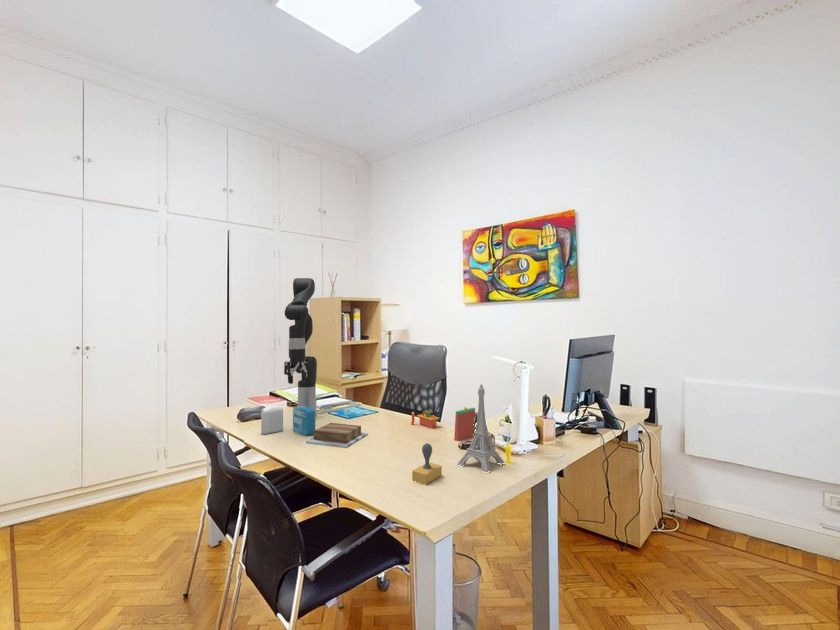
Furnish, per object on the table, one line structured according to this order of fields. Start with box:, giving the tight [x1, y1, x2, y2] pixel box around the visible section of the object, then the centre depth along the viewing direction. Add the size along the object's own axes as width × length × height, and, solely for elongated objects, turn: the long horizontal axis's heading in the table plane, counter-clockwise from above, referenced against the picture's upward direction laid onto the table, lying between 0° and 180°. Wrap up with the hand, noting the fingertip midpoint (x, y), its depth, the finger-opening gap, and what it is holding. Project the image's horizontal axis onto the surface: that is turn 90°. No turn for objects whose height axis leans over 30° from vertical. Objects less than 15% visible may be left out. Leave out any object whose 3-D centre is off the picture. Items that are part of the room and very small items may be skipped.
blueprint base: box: [305, 422, 369, 449], centre depth 187 cm, size 20×20×5 cm
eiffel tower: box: [456, 384, 505, 472], centre depth 156 cm, size 13×13×30 cm
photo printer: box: [260, 405, 284, 435], centre depth 198 cm, size 10×4×12 cm, turn 134°
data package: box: [292, 405, 316, 436], centre depth 197 cm, size 12×4×12 cm, turn 49°
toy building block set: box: [410, 406, 476, 442], centre depth 201 cm, size 12×35×14 cm, turn 40°
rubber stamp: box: [411, 442, 443, 485], centre depth 143 cm, size 10×6×12 cm, turn 144°
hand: (297, 382), depth 195 cm, fingers open, 8 cm apart
